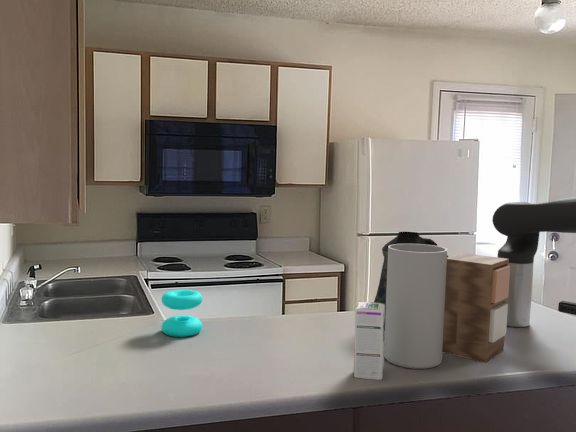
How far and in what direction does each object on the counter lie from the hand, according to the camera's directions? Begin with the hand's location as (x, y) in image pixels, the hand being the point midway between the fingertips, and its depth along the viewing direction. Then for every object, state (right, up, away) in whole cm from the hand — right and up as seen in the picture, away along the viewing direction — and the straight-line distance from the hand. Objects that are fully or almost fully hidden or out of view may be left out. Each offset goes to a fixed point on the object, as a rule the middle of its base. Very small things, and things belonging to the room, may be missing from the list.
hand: (559, 305), depth 125 cm
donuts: (-85, -10, +20) cm, 88 cm away
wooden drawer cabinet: (-16, -12, +10) cm, 22 cm away
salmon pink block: (-13, +1, +7) cm, 15 cm away
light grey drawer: (-13, -8, +8) cm, 17 cm away
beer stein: (-27, -10, +31) cm, 42 cm away
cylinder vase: (-31, -13, +3) cm, 34 cm away
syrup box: (-42, -13, -6) cm, 44 cm away
